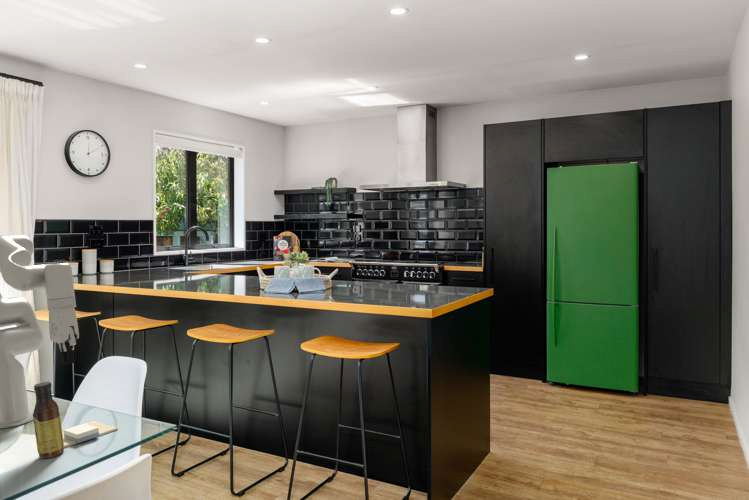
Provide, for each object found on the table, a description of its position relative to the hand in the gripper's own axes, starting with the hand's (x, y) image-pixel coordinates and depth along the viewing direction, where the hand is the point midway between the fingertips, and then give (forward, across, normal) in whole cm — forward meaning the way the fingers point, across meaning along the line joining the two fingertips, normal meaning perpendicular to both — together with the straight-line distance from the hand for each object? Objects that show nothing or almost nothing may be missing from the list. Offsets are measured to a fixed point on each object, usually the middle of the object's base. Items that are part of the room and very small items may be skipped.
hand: (68, 363), depth 172 cm
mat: (+21, +4, -1) cm, 21 cm away
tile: (+19, +9, +1) cm, 21 cm away
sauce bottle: (+21, +14, -13) cm, 29 cm away
